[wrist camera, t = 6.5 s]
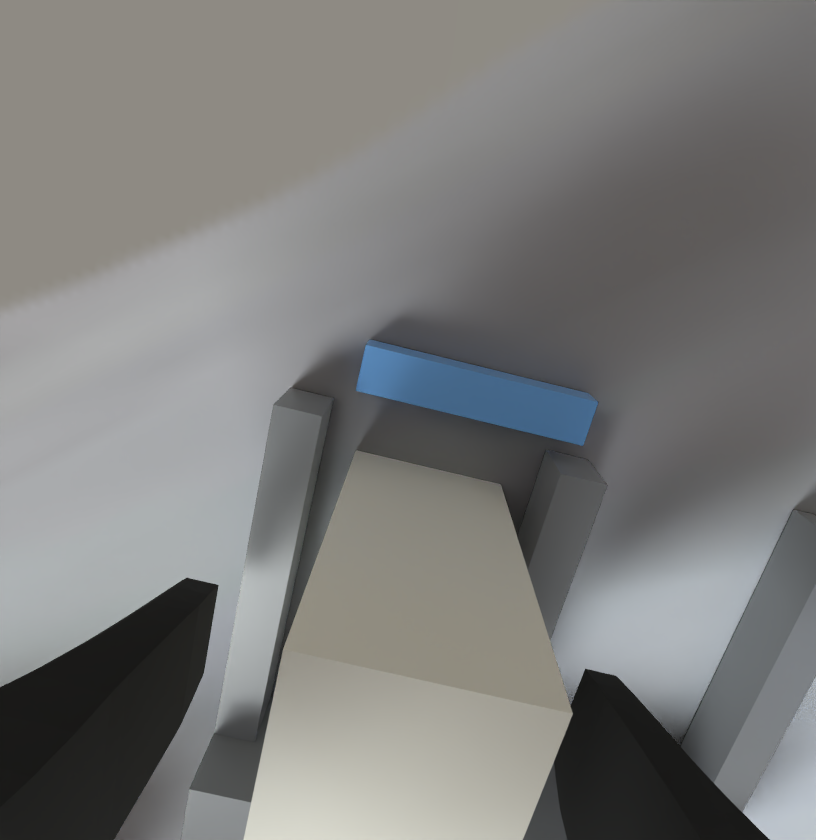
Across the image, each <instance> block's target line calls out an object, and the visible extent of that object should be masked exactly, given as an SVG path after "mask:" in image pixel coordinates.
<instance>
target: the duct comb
mask: <svg viewBox="0 0 816 840" xmlns="http://www.w3.org/2000/svg"><path fill="white" fill-rule="evenodd" d="M333 399H334V398H331V397H327V396H323V395H319V394H314V393H310V392H306V391H302V390H298V389H294V388H290V389H289V390H288V391H287V392H286V393H285V394H284V395H283V396H282V397H281V398H280V399H279V400H278V401H277V402H276V403H275V404H274V405H273V410H272V415H271V421H270V426H269V432H268V437H267V443H266V448H265V454H264V460H263V465H262V471H261V476H260V482H259V487H258V493H257V498H256V504H255V509H254V515H253V520H252V526H251V532H250V537H249V543H248V548H247V554H246V559H245V565H244V570H243V576H242V581H241V587H240V592H239V598H238V604H237V609H236V615H235V620H234V626H233V631H232V637H231V642H230V648H229V653H228V659H227V664H226V670H225V676H224V681H223V687H222V692H221V698H220V703H219V709H218V714H217V720H216V725H215V731H214V735H213V737H212V739H211V741H210V744H209V746H208V748H207V750H206V753H205V755H204V757H203V759H202V762H201V764H200V766H199V768H198V771H197V773H196V775H195V778H194V780H193V782H192V784H191V787H190V789H189V794H188V800H187V806H186V811H185V817H184V823H183V829H182V835H181V840H244V835H245V830H246V825H247V820H248V816H249V811H250V806H251V801H252V796H253V792H254V787H255V782H256V777H257V772H258V768H259V763H260V758H261V753H262V748H263V744H264V739H265V734H266V729H267V724H268V720H269V715H270V710H271V705H272V700H273V697H271V693H272V688H273V683H274V679H275V674H276V669H277V664H278V660H279V655H280V650H281V645H282V641H283V636H284V631H285V627H286V622H287V617H288V612H289V608H290V603H291V598H292V593H293V589H294V584H295V579H296V575H297V570H298V565H299V560H300V556H301V551H302V546H303V541H304V537H305V532H306V527H307V522H308V518H309V513H310V508H311V504H312V499H313V494H314V489H315V485H316V480H317V475H318V470H319V466H320V461H321V456H322V451H323V447H324V442H325V437H326V433H327V428H328V423H329V418H330V414H331V409H332V404H333ZM607 486H608V485H607V484H606V482H605V481H604V480H603V478H602V477H601V476H600V475H599V473H598V472H597V471H596V469H595V468H594V467H593V466H592V464H591V463H590V462H589V460H587V459H583V458H579V457H575V456H570V455H566V454H562V453H558V452H554V451H550V450H546V452H545V455H544V458H543V461H542V464H541V467H540V470H539V473H538V476H537V479H536V482H535V485H534V488H533V491H532V494H531V497H530V500H529V503H528V506H527V509H526V512H525V515H524V518H523V521H522V524H521V527H520V530H519V533H518V536H517V537H518V541H519V544H520V547H521V550H522V553H523V557H524V560H525V563H526V566H527V569H528V572H529V576H530V579H531V582H532V585H533V588H534V592H535V595H536V598H537V601H538V604H539V607H540V611H541V614H542V617H543V620H544V623H545V627H546V630H547V633H548V636H549V639H551V637H552V634H553V631H554V629H555V626H556V623H557V620H558V618H559V615H560V612H561V610H562V607H563V604H564V602H565V599H566V596H567V593H568V591H569V588H570V585H571V583H572V580H573V577H574V575H575V572H576V569H577V566H578V564H579V561H580V558H581V556H582V553H583V550H584V548H585V545H586V542H587V539H588V537H589V534H590V531H591V529H592V526H593V523H594V521H595V518H596V515H597V513H598V510H599V507H600V504H601V502H602V499H603V496H604V494H605V491H606V488H607ZM815 676H816V515H814V514H810V513H806V512H802V511H798V510H793V512H792V514H791V516H790V518H789V520H788V522H787V524H786V526H785V529H784V531H783V533H782V535H781V537H780V539H779V541H778V543H777V545H776V547H775V549H774V552H773V554H772V556H771V558H770V560H769V562H768V564H767V566H766V568H765V570H764V572H763V575H762V577H761V579H760V581H759V583H758V585H757V587H756V589H755V591H754V593H753V595H752V598H751V600H750V602H749V604H748V606H747V608H746V610H745V612H744V614H743V616H742V618H741V621H740V623H739V625H738V627H737V629H736V631H735V633H734V635H733V637H732V639H731V641H730V644H729V646H728V648H727V650H726V652H725V654H724V656H723V658H722V660H721V662H720V664H719V667H718V669H717V671H716V673H715V675H714V677H713V679H712V681H711V683H710V685H709V687H708V690H707V692H706V694H705V696H704V698H703V700H702V702H701V704H700V706H699V708H698V710H697V713H696V715H695V717H694V719H693V721H692V723H691V725H690V727H689V729H688V731H687V733H686V736H685V738H684V740H683V742H682V744H681V746H680V747H681V748H682V749H683V750H684V751H685V752H686V753H687V754H688V756H689V757H690V758H691V759H692V760H693V761H694V762H695V763H696V764H697V766H698V767H699V768H700V769H701V770H702V771H703V772H704V773H705V774H706V775H707V776H708V777H709V778H710V780H711V781H712V782H713V783H714V784H715V785H716V786H717V787H718V788H719V789H720V790H721V791H722V792H723V793H724V794H725V795H726V796H727V797H728V799H729V800H730V801H731V802H732V803H733V804H734V805H735V806H736V807H737V808H738V809H739V810H740V811H741V812H743V810H744V808H745V806H746V804H747V802H748V801H749V799H750V797H751V795H752V793H753V791H754V789H755V788H756V786H757V784H758V782H759V780H760V778H761V776H762V775H763V773H764V771H765V769H766V767H767V765H768V764H769V762H770V760H771V758H772V756H773V754H774V752H775V751H776V749H777V747H778V745H779V743H780V741H781V739H782V738H783V736H784V734H785V732H786V730H787V728H788V726H789V725H790V723H791V721H792V719H793V717H794V715H795V714H796V712H797V710H798V708H799V706H800V704H801V702H802V701H803V699H804V697H805V695H806V693H807V691H808V689H809V688H810V686H811V684H812V682H813V680H814V678H815ZM523 840H567V837H566V833H565V829H564V824H563V820H562V816H561V811H560V806H559V799H558V791H557V784H556V776H555V766H554V763H553V765H552V768H551V770H550V773H549V775H548V778H547V780H546V783H545V785H544V788H543V790H542V793H541V795H540V798H539V800H538V803H537V805H536V808H535V810H534V813H533V815H532V818H531V820H530V823H529V825H528V828H527V831H526V833H525V836H524V838H523Z"/></svg>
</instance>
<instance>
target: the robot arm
mask: <svg viewBox="0 0 816 840" xmlns="http://www.w3.org/2000/svg"><path fill="white" fill-rule="evenodd" d="M217 591H218V585H216V584H211V583H207V582H203V581H198V580H194V579H189V578H186V579H184V580H182V581H180V582H179V583H177V584H176V585H174V586H173V587H171V588H170V589H168V590H167V591H165V592H164V593H162V594H161V595H159V596H158V597H156V598H155V599H153V600H151V601H150V602H148V603H147V604H145V605H144V606H142V607H141V608H139V609H138V610H136V611H135V612H133V613H132V614H130V615H128V616H127V617H125V618H124V619H122V620H120V621H119V622H117V623H116V624H114V625H112V626H111V627H109V628H108V629H106V630H104V631H103V632H101V633H99V634H98V635H96V636H95V637H93V638H91V639H90V640H88V641H86V642H85V643H83V644H81V645H79V646H77V647H76V648H74V649H72V650H70V651H68V652H67V653H65V654H63V655H61V656H60V657H58V658H56V659H54V660H52V661H51V662H49V663H47V664H45V665H43V666H42V667H40V668H38V669H36V670H34V671H32V672H30V673H28V674H26V675H24V676H22V677H21V678H19V679H16V680H14V681H12V682H10V683H8V684H6V685H4V686H2V687H0V840H114V838H115V837H116V835H117V833H118V832H119V830H120V828H121V826H122V825H123V823H124V821H125V820H126V818H127V816H128V814H129V813H130V811H131V809H132V808H133V806H134V804H135V803H136V801H137V799H138V797H139V796H140V794H141V792H142V791H143V789H144V787H145V786H146V784H147V782H148V780H149V779H150V777H151V775H152V774H153V772H154V770H155V768H156V767H157V765H158V763H159V762H160V760H161V758H162V756H163V755H164V753H165V751H166V750H167V748H168V746H169V744H170V743H171V741H172V739H173V737H174V736H175V734H176V732H177V730H178V729H179V727H180V725H181V723H182V721H183V719H184V716H185V714H186V712H187V710H188V708H189V705H190V703H191V701H192V699H193V696H194V694H195V692H196V690H197V687H198V685H199V683H200V680H201V678H202V676H203V674H204V668H205V662H206V656H207V650H208V644H209V638H210V632H211V626H212V620H213V615H214V609H215V603H216V597H217ZM571 709H572V712H573V715H572V717H571V720H570V722H569V725H568V727H567V730H566V732H565V735H564V738H563V740H562V743H561V745H560V748H559V750H558V753H557V755H556V758H555V760H554V766H555V776H556V784H557V791H558V799H559V806H560V811H561V816H562V820H563V824H564V829H565V833H566V837H567V840H769V839H768V838H767V837H766V836H765V835H764V834H763V833H762V832H761V831H760V830H759V829H758V828H757V827H756V826H755V825H754V824H753V823H752V822H751V821H750V820H749V819H748V818H747V817H746V816H745V815H744V814H743V813H742V812H741V811H740V810H739V809H738V808H737V807H736V806H735V805H734V804H733V803H732V802H731V801H730V800H729V799H728V797H727V796H726V795H725V794H724V793H723V792H722V791H721V790H720V789H719V788H718V787H717V786H716V785H715V784H714V783H713V782H712V781H711V780H710V778H709V777H708V776H707V775H706V774H705V773H704V772H703V771H702V770H701V769H700V768H699V767H698V766H697V764H696V763H695V762H694V761H693V760H692V759H691V758H690V757H689V756H688V754H687V753H686V752H685V751H684V750H683V749H682V748H681V747H680V746H679V744H678V743H677V742H676V741H675V740H674V739H673V738H672V737H671V736H670V734H669V733H668V732H667V731H666V730H665V729H664V728H663V727H662V725H661V724H660V723H659V722H658V721H657V720H656V719H655V718H654V716H653V715H652V714H651V713H650V712H649V711H648V710H647V709H646V707H645V706H644V705H643V704H642V703H641V702H640V701H639V700H638V698H637V697H636V696H635V695H634V694H633V693H632V692H631V691H630V690H629V689H628V688H627V687H626V686H625V685H624V683H623V682H622V681H621V680H620V679H619V678H618V677H616V676H614V675H610V674H605V673H601V672H596V671H592V670H588V669H585V671H584V674H583V677H582V679H581V682H580V684H579V687H578V689H577V692H576V694H575V697H574V699H573V702H572V704H571Z"/></svg>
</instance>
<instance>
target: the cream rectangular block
mask: <svg viewBox="0 0 816 840" xmlns="http://www.w3.org/2000/svg"><path fill="white" fill-rule="evenodd" d="M572 715H573V712H572V709H571V706H570V703H569V700H568V697H567V693H566V690H565V687H564V684H563V681H562V677H561V674H560V671H559V668H558V665H557V662H556V658H555V655H554V652H553V649H552V646H551V642H550V639H549V636H548V633H547V630H546V627H545V623H544V620H543V617H542V614H541V611H540V607H539V604H538V601H537V598H536V595H535V592H534V588H533V585H532V582H531V579H530V576H529V572H528V569H527V566H526V563H525V560H524V557H523V553H522V550H521V547H520V544H519V541H518V537H517V534H516V531H515V528H514V525H513V522H512V518H511V515H510V512H509V509H508V506H507V502H506V499H505V496H504V493H503V490H502V487H501V484H497V483H493V482H489V481H485V480H480V479H476V478H472V477H468V476H463V475H459V474H455V473H451V472H446V471H442V470H438V469H434V468H429V467H425V466H421V465H417V464H412V463H408V462H404V461H400V460H396V459H391V458H387V457H383V456H379V455H374V454H370V453H366V452H362V451H357V450H356V451H355V454H354V457H353V459H352V462H351V465H350V468H349V470H348V473H347V476H346V479H345V481H344V484H343V487H342V489H341V492H340V495H339V498H338V500H337V503H336V506H335V509H334V511H333V514H332V517H331V520H330V522H329V525H328V528H327V531H326V533H325V536H324V539H323V542H322V544H321V547H320V550H319V552H318V555H317V558H316V561H315V563H314V566H313V569H312V572H311V574H310V577H309V580H308V583H307V585H306V588H305V591H304V594H303V596H302V599H301V602H300V605H299V607H298V610H297V613H296V615H295V618H294V621H293V624H292V626H291V629H290V632H289V635H288V637H287V640H286V643H285V646H284V648H283V652H282V657H281V662H280V667H279V672H278V676H277V681H276V686H275V691H274V696H273V700H272V705H271V710H270V715H269V720H268V724H267V729H266V734H265V739H264V744H263V748H262V753H261V758H260V763H259V768H258V772H257V777H256V782H255V787H254V792H253V796H252V801H251V806H250V811H249V816H248V820H247V825H246V830H245V835H244V840H523V838H524V836H525V833H526V831H527V828H528V825H529V823H530V820H531V818H532V815H533V813H534V810H535V808H536V805H537V803H538V800H539V798H540V795H541V793H542V790H543V788H544V785H545V783H546V780H547V778H548V775H549V773H550V770H551V768H552V765H553V763H554V760H555V758H556V755H557V753H558V750H559V748H560V745H561V743H562V740H563V738H564V735H565V732H566V730H567V727H568V725H569V722H570V720H571V717H572Z"/></svg>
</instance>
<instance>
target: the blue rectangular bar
mask: <svg viewBox="0 0 816 840" xmlns="http://www.w3.org/2000/svg"><path fill="white" fill-rule="evenodd" d="M356 391H359V392H363V393H367V394H371V395H375V396H379V397H384V398H388V399H392V400H396V401H400V402H404V403H408V404H412V405H417V406H421V407H425V408H429V409H433V410H437V411H441V412H445V413H449V414H454V415H458V416H462V417H466V418H470V419H474V420H478V421H482V422H486V423H491V424H495V425H499V426H503V427H507V428H511V429H515V430H519V431H524V432H528V433H532V434H536V435H540V436H544V437H548V438H552V439H556V440H561V441H565V442H569V443H573V444H577V445H581V446H583V445H584V442H585V439H586V436H587V434H588V431H589V428H590V425H591V422H592V419H593V416H594V414H595V411H596V408H597V405H598V401H597V400H596V399H594V398H593V397H592V396H591V395H590V394H589V393H586V392H582V391H578V390H573V389H569V388H565V387H561V386H557V385H553V384H549V383H545V382H541V381H537V380H533V379H529V378H525V377H521V376H517V375H513V374H509V373H504V372H500V371H496V370H492V369H488V368H484V367H480V366H476V365H472V364H468V363H464V362H460V361H456V360H452V359H448V358H444V357H440V356H435V355H431V354H427V353H423V352H419V351H415V350H411V349H407V348H403V347H399V346H395V345H391V344H387V343H383V342H379V341H375V340H371V339H369V341H368V342H367V344H366V346H365V351H364V355H363V360H362V364H361V369H360V373H359V378H358V382H357V387H356Z"/></svg>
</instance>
